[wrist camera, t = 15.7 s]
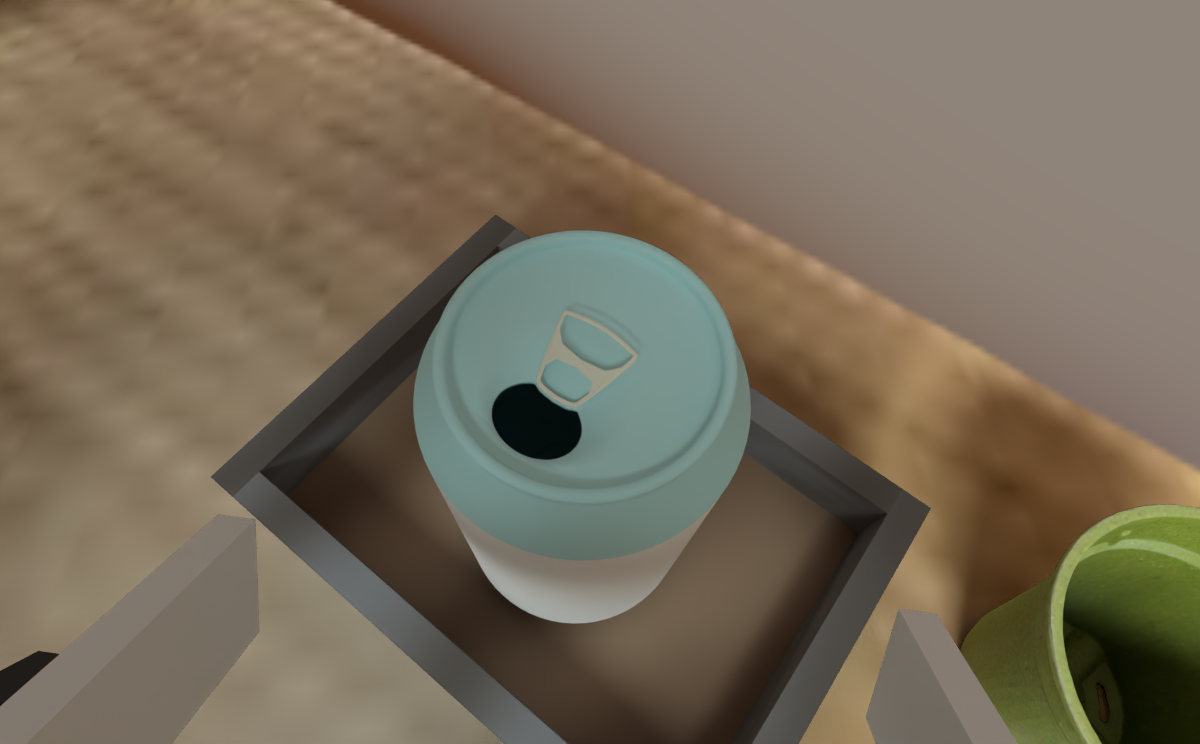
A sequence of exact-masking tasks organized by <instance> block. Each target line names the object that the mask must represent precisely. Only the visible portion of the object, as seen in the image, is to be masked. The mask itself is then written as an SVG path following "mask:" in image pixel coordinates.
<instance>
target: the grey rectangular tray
mask: <svg viewBox="0 0 1200 744" xmlns="http://www.w3.org/2000/svg"><path fill="white" fill-rule="evenodd" d="M527 239H530V238H529V237H528V236H526V235H525V234H523V233H522V232H521V231H519V230H518V229H516V228H515V227H513V226H512V225H510V224H509V223H507V222H506V221H504V220H503V219H501V218H500V217H498V216H497V215H495V216H493V217H492V218H491V219H490V220H489V221H488V222H487V223H486V224H485V225H484V226H483V227H482V228H480V229H479V230H478V231H477V232H476V233H475V234H474V235H473V236H472V237H471V238H470V239H469V240H467V241H466V242H465V243H464V244H463V245H462V246H461V247H460V248H459V249H458V250H457V251H455V252H454V253H453V254H452V255H451V256H450V257H449V258H448V259H447V260H446V261H445V262H444V263H442V264H441V265H440V266H439V267H438V268H437V269H436V270H435V271H434V272H433V273H432V274H431V275H429V276H428V277H427V278H426V279H425V280H424V281H423V282H422V283H421V284H420V285H419V286H418V287H416V288H415V289H414V290H413V291H412V292H411V293H410V294H409V295H408V296H407V297H406V298H404V299H403V300H402V301H401V302H400V303H399V304H398V305H397V306H396V307H395V308H394V309H393V310H391V311H390V312H389V313H388V314H387V315H386V316H385V317H384V318H383V319H382V320H381V321H380V322H378V323H377V324H376V325H375V326H374V327H373V328H372V329H371V330H370V331H369V332H368V333H367V334H365V335H364V336H363V337H362V338H361V339H360V340H359V341H358V342H357V343H356V344H355V345H353V346H352V347H351V348H350V349H349V350H348V351H347V352H346V353H345V354H344V355H343V356H342V357H340V358H339V359H338V360H337V361H336V362H335V363H334V364H333V365H332V366H331V367H330V368H329V369H327V370H326V371H325V372H324V373H323V374H322V375H321V376H320V377H319V378H318V379H317V380H316V381H314V382H313V383H312V384H311V385H310V386H309V387H308V388H307V389H306V390H305V391H304V392H302V393H301V394H300V395H299V396H298V397H297V398H296V399H295V400H294V401H293V402H292V403H291V404H289V405H288V406H287V407H286V408H285V409H284V410H283V411H282V412H281V413H280V414H279V415H278V416H276V417H275V418H274V419H273V420H272V421H271V422H270V423H269V424H268V425H267V426H266V427H264V428H263V429H262V430H261V431H260V432H259V433H258V434H257V435H256V436H255V437H254V438H253V439H251V440H250V441H249V442H248V443H247V444H246V445H245V446H244V447H243V448H242V449H241V450H240V451H238V452H237V453H236V454H235V455H234V456H233V457H232V458H231V459H230V460H229V461H228V462H227V463H225V464H224V465H223V466H222V467H221V468H220V469H219V470H218V471H217V472H216V473H215V474H213V475H212V476H211V478H213V479H214V480H215V481H216V482H217V483H218V484H219V485H220V486H221V487H222V488H224V489H225V490H226V491H227V492H228V493H229V494H230V495H231V496H232V497H234V498H235V499H236V500H237V501H238V502H239V503H240V504H241V505H242V506H243V507H245V508H246V509H247V510H248V511H249V512H250V513H251V514H252V515H253V516H254V517H256V518H257V519H258V520H259V521H260V522H261V523H262V524H263V525H264V526H265V527H267V528H268V529H269V530H270V531H271V532H272V533H273V534H274V535H275V536H277V537H278V538H279V539H280V540H281V541H282V542H283V543H284V544H285V545H286V546H288V547H289V548H290V549H291V550H292V551H293V552H294V553H295V554H296V555H297V556H299V557H300V558H301V559H302V560H303V561H304V562H305V563H306V564H307V565H308V566H310V567H311V568H312V569H313V570H314V571H315V572H316V573H317V574H318V575H320V576H321V577H322V578H323V579H324V580H325V581H326V582H327V583H328V584H329V585H331V586H332V587H333V588H334V589H335V590H336V591H337V592H338V593H339V594H340V595H342V596H343V597H344V598H345V599H346V600H347V601H348V602H349V603H350V604H351V605H353V606H354V607H355V608H356V609H357V610H358V611H359V612H360V613H361V614H363V615H364V616H365V617H366V618H367V619H368V620H369V621H370V622H371V623H372V624H374V625H375V626H376V627H377V628H378V629H379V630H380V631H381V632H382V633H383V634H385V635H386V636H387V637H388V638H389V639H390V640H391V641H392V642H393V643H394V644H396V645H397V646H398V647H399V648H400V649H401V650H402V651H403V652H404V653H406V654H407V655H408V656H409V657H410V658H411V659H412V660H413V661H414V662H415V663H417V664H418V665H419V666H420V667H421V668H422V669H423V670H424V671H425V672H426V673H428V674H429V675H430V676H431V677H432V678H433V679H434V680H435V681H436V682H437V683H439V684H440V685H441V686H442V687H443V688H444V689H445V690H446V691H447V692H449V693H450V694H451V695H452V696H453V697H454V698H455V699H456V700H457V701H458V702H460V703H461V704H462V705H463V706H464V707H465V708H466V709H467V710H468V711H469V712H471V713H472V714H473V715H474V716H475V717H476V718H477V719H478V720H479V721H481V722H482V723H483V724H484V725H485V726H486V727H487V728H488V729H489V730H490V731H492V732H493V733H494V734H495V735H496V736H497V737H498V738H499V739H500V740H501V741H503V742H504V743H505V744H799V742H800V740H801V738H802V737H803V735H804V733H805V731H806V730H807V728H808V726H809V724H810V722H811V721H812V719H813V717H814V715H815V714H816V712H817V710H818V708H819V706H820V705H821V703H822V701H823V699H824V698H825V696H826V694H827V692H828V690H829V689H830V687H831V685H832V683H833V682H834V680H835V678H836V676H837V674H838V673H839V671H840V669H841V667H842V666H843V664H844V662H845V660H846V658H847V657H848V655H849V653H850V651H851V649H852V648H853V646H854V644H855V642H856V641H857V639H858V637H859V635H860V633H861V632H862V630H863V628H864V626H865V625H866V623H867V621H868V619H869V617H870V616H871V614H872V612H873V610H874V609H875V607H876V605H877V603H878V601H879V600H880V598H881V596H882V594H883V593H884V591H885V589H886V587H887V585H888V584H889V582H890V580H891V578H892V577H893V575H894V573H895V571H896V569H897V568H898V566H899V564H900V562H901V561H902V559H903V557H904V555H905V553H906V552H907V550H908V548H909V546H910V545H911V543H912V541H913V539H914V537H915V536H916V534H917V532H918V530H919V529H920V527H921V525H922V523H923V521H924V520H925V518H926V516H927V514H928V513H929V511H930V509H931V508H930V507H928V506H927V505H925V504H924V503H922V502H921V501H919V500H918V499H916V498H915V497H913V496H912V495H910V494H909V493H907V492H906V491H904V490H903V489H902V488H900V487H899V486H897V485H896V484H894V483H893V482H891V481H890V480H888V479H887V478H885V477H884V476H882V475H881V474H879V473H878V472H876V471H875V470H873V469H872V468H870V467H869V466H867V465H866V464H864V463H863V462H861V461H860V460H859V459H857V458H856V457H854V456H853V455H851V454H850V453H848V452H847V451H845V450H844V449H842V448H841V447H839V446H838V445H836V444H835V443H833V442H832V441H830V440H829V439H827V438H826V437H824V436H823V435H821V434H820V433H818V432H817V431H816V430H814V429H813V428H811V427H810V426H808V425H807V424H805V423H804V422H802V421H801V420H799V419H798V418H796V417H795V416H793V415H792V414H790V413H789V412H787V411H786V410H784V409H783V408H781V407H780V406H778V405H777V404H776V403H774V402H773V401H771V400H770V399H768V398H767V397H765V396H764V395H762V394H761V393H759V392H758V391H756V390H755V389H753V388H752V387H750V386H749V389H750V399H751V416H750V427H749V433H748V438H747V443H746V446H745V449H744V453H743V456H742V458H741V461H740V463H739V465H738V468H737V470H736V472H735V474H734V476H733V477H732V479H731V481H730V483H729V485H728V486H727V487H726V489H725V490H724V492H723V493H722V495H721V496H720V497H719V499H718V500H717V502H716V503H715V505H714V506H713V508H712V509H711V510H710V512H709V513H708V515H707V516H706V518H705V519H704V520H703V522H702V523H701V525H700V526H699V528H698V529H697V531H696V532H695V533H694V535H693V536H692V538H691V539H690V541H689V542H688V543H687V545H686V546H685V548H684V549H683V551H682V552H681V554H680V555H679V556H678V558H677V559H676V561H675V562H674V564H673V565H672V566H671V568H670V569H669V571H668V572H667V574H666V575H665V576H664V578H663V579H662V581H661V582H660V583H659V585H658V586H657V587H656V588H655V589H654V590H653V591H652V592H651V593H650V594H649V595H648V596H647V597H646V598H645V599H643V600H642V601H641V602H639V603H638V604H637V605H635V606H634V607H632V608H630V609H629V610H627V611H625V612H623V613H621V614H619V615H616V616H614V617H611V618H608V619H605V620H600V621H596V622H589V623H574V624H573V623H561V622H555V621H550V620H547V619H543V618H540V617H537V616H535V615H532V614H530V613H528V612H526V611H524V610H522V609H520V608H519V607H517V606H516V605H514V604H513V603H511V602H510V601H509V600H508V599H507V598H505V597H504V596H503V595H502V594H501V593H500V592H499V591H498V590H497V589H496V588H495V587H494V586H493V584H492V583H491V582H490V581H489V579H488V578H487V576H486V575H485V573H484V572H483V570H482V568H481V566H480V564H479V563H478V561H477V559H476V557H475V555H474V553H473V551H472V550H471V548H470V546H469V544H468V542H467V540H466V538H465V536H464V535H463V533H462V531H461V529H460V527H459V525H458V523H457V521H456V520H455V518H454V516H453V514H452V512H451V510H450V508H449V507H448V505H447V503H446V501H445V499H444V497H443V495H442V493H441V492H440V490H439V488H438V486H437V484H436V482H435V480H434V479H433V477H432V475H431V473H430V471H429V469H428V467H427V465H426V463H425V460H424V458H423V455H422V452H421V449H420V446H419V443H418V438H417V434H416V430H415V422H414V410H413V398H414V387H415V381H416V376H417V371H418V367H419V363H420V360H421V357H422V354H423V351H424V349H425V346H426V344H427V342H428V339H429V337H430V336H431V334H432V332H433V330H434V329H435V327H436V325H437V324H438V322H439V321H440V318H441V316H442V314H443V311H444V309H445V308H446V306H447V304H448V302H449V300H450V299H451V297H452V296H453V294H454V293H455V292H456V290H457V289H458V287H459V286H460V285H461V284H462V283H463V282H464V280H465V279H466V278H467V277H468V276H469V275H470V274H471V273H472V272H473V271H474V270H475V269H476V268H478V267H479V266H480V265H481V264H483V263H484V262H485V261H487V260H488V259H489V258H491V257H492V256H494V255H496V254H497V253H499V252H501V251H502V250H504V249H506V248H508V247H510V246H512V245H514V244H517V243H519V242H521V241H524V240H527Z"/></svg>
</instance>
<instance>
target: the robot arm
mask: <svg viewBox="0 0 1200 744" xmlns="http://www.w3.org/2000/svg"><path fill="white" fill-rule="evenodd" d="M258 633H259V606H258V579H257V551H256V524H255V519H248V518H241V517H234V516H226V515H219V514H218V515H217V516H216V517H215V518H214V519H213V520H211V521H210V522H209V523H208V524H207V525H206V526H205V527H203V528H202V529H201V530H200V531H199V532H198V533H197V534H195V535H194V536H193V537H192V538H191V539H190V540H189V541H188V542H186V543H185V544H184V545H183V546H182V547H181V548H180V549H178V550H177V551H176V552H175V553H174V554H173V555H172V556H170V557H169V558H168V559H167V560H166V561H165V562H164V563H163V564H161V565H160V566H159V567H158V568H157V569H156V570H155V571H153V572H152V573H151V574H150V575H149V576H148V577H147V578H145V579H144V580H143V581H142V582H141V583H140V584H139V585H138V586H136V587H135V588H134V589H133V590H132V591H131V592H130V593H128V594H127V595H126V596H125V597H124V598H123V599H122V600H120V601H119V602H118V603H117V604H116V605H115V606H114V607H113V608H111V609H110V610H109V611H108V612H107V613H106V614H105V615H103V616H102V617H101V618H100V619H99V620H98V621H97V622H95V623H94V624H93V625H92V626H91V627H90V628H89V629H88V630H86V631H85V632H84V633H83V634H82V635H81V636H80V637H78V638H77V639H76V640H75V641H74V642H73V643H72V644H70V645H69V646H68V647H67V648H66V649H65V650H64V651H63V652H61V653H60V654H56V653H49V652H42V651H38V652H36V653H34V654H32V655H30V656H28V657H26V658H24V659H22V660H20V661H18V662H17V663H15V664H13V665H11V666H9V667H7V668H5V669H3V670H1V671H0V744H172V743H173V741H174V740H175V739H176V738H177V736H178V735H179V734H180V732H181V731H182V730H183V729H184V727H185V726H186V725H187V723H188V722H189V721H190V720H191V718H192V717H193V716H194V714H195V713H196V712H197V711H198V709H199V708H200V707H201V706H202V704H203V703H204V702H205V700H206V699H207V698H208V697H209V695H210V694H211V693H212V691H213V690H214V689H215V688H216V686H217V685H218V684H219V682H220V681H221V680H222V679H223V677H224V676H225V675H226V674H227V672H228V671H229V670H230V668H231V667H232V666H233V665H234V663H235V662H236V661H237V659H238V658H239V657H240V656H241V654H242V653H243V652H244V651H245V649H246V648H247V647H248V645H249V644H250V643H251V642H252V640H253V639H254V638H255V636H256V635H257V634H258ZM866 719H867V722H868V724H869V727H870V729H871V732H872V734H873V737H874V740H875V742H876V744H1017V742H1016V740H1015V739H1014V737H1013V735H1012V734H1011V732H1010V731H1009V729H1008V727H1007V726H1006V724H1005V723H1004V721H1003V719H1002V718H1001V716H1000V715H999V713H998V711H997V710H996V708H995V707H994V705H993V703H992V702H991V700H990V699H989V697H988V695H987V694H986V692H985V691H984V689H983V687H982V686H981V684H980V683H979V681H978V679H977V678H976V676H975V675H974V673H973V671H972V670H971V668H970V666H969V665H968V663H967V662H966V660H965V658H964V657H963V655H962V654H961V652H960V650H959V649H958V647H957V646H956V644H955V642H954V641H953V639H952V638H951V636H950V634H949V633H948V631H947V630H946V628H945V626H944V625H943V623H942V622H941V620H940V618H939V617H938V615H937V614H932V613H925V612H918V611H910V610H903V609H899V610H898V613H897V616H896V620H895V623H894V626H893V629H892V633H891V636H890V639H889V643H888V646H887V649H886V652H885V656H884V659H883V662H882V666H881V669H880V672H879V675H878V679H877V682H876V685H875V688H874V692H873V695H872V698H871V702H870V705H869V708H868V711H867V715H866Z"/></svg>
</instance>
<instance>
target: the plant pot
mask: <svg viewBox="0 0 1200 744" xmlns="http://www.w3.org/2000/svg"><path fill="white" fill-rule="evenodd" d="M960 652H961V654H962V655H963V657H964V658H965V660H966V662H967V663H968V665H969V666H970V668H971V670H972V671H973V673H974V675H975V676H976V678H977V679H978V681H979V683H980V684H981V686H982V687H983V689H984V691H985V692H986V694H987V695H988V697H989V699H990V700H991V702H992V703H993V705H994V707H995V708H996V710H997V711H998V713H999V715H1000V716H1001V718H1002V719H1003V721H1004V723H1005V724H1006V726H1007V727H1008V729H1009V731H1010V732H1011V734H1012V735H1013V737H1014V739H1015V740H1016V742H1017V744H1200V508H1196V507H1190V506H1181V505H1167V504H1161V505H1146V506H1140V507H1136V508H1131V509H1127V510H1124V511H1121V512H1118V513H1115V514H1113V515H1110V516H1108V517H1106V518H1104V519H1102V520H1100V521H1098V522H1096V523H1095V524H1093V525H1092V526H1090V527H1089V528H1088V529H1086V530H1085V531H1084V532H1083V533H1081V534H1080V535H1079V536H1078V537H1077V538H1076V539H1075V540H1074V541H1073V542H1072V543H1071V545H1070V546H1069V547H1068V549H1067V550H1066V552H1065V553H1064V555H1063V556H1062V558H1061V559H1060V561H1059V563H1058V565H1057V567H1056V569H1055V571H1054V574H1053V575H1052V576H1050V577H1048V578H1047V579H1045V580H1043V581H1042V582H1040V583H1038V584H1037V585H1035V586H1034V587H1032V588H1030V589H1029V590H1027V591H1025V592H1024V593H1022V594H1020V595H1019V596H1017V597H1015V598H1013V599H1012V600H1010V601H1008V602H1006V603H1004V604H1003V605H1001V606H999V607H998V608H996V609H994V610H992V611H990V612H989V613H987V614H986V615H985V616H983V617H982V618H981V619H980V620H979V621H978V622H977V623H976V624H975V626H974V627H973V628H972V629H971V630H970V632H969V633H968V634H967V635H966V637H965V640H964V642H963V644H962V647H961V651H960ZM1098 682H1099V684H1100V685H1102V686H1103V687H1104V688H1105V692H1106V696H1107V702H1108V705H1109V709H1110V712H1109V721H1108V722H1106V723H1104V722H1103V721H1102V720H1101V719H1100V710H1099V700H1098V691H1097V688H1096V686H1095V685H1096V684H1097V683H1098Z"/></svg>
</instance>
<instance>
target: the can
mask: <svg viewBox="0 0 1200 744" xmlns="http://www.w3.org/2000/svg"><path fill="white" fill-rule="evenodd" d="M413 410H414V422H415V430H416V434H417V438H418V443H419V446H420V449H421V452H422V455H423V458H424V460H425V463H426V465H427V467H428V469H429V471H430V473H431V475H432V477H433V479H434V480H435V482H436V484H437V486H438V488H439V490H440V492H441V493H442V495H443V497H444V499H445V501H446V503H447V505H448V507H449V508H450V510H451V512H452V514H453V516H454V518H455V520H456V521H457V523H458V525H459V527H460V529H461V531H462V533H463V535H464V536H465V538H466V540H467V542H468V544H469V546H470V548H471V550H472V551H473V553H474V555H475V557H476V559H477V561H478V563H479V564H480V566H481V568H482V570H483V572H484V573H485V575H486V576H487V578H488V579H489V581H490V582H491V583H492V584H493V586H494V587H495V588H496V589H497V590H498V591H499V592H500V593H501V594H502V595H503V596H504V597H505V598H507V599H508V600H509V601H510V602H511V603H513V604H514V605H516V606H517V607H519V608H520V609H522V610H524V611H526V612H528V613H530V614H532V615H535V616H537V617H540V618H543V619H547V620H550V621H555V622H561V623H573V624H574V623H589V622H596V621H600V620H605V619H608V618H611V617H614V616H616V615H619V614H621V613H623V612H625V611H627V610H629V609H630V608H632V607H634V606H635V605H637V604H638V603H639V602H641V601H642V600H643V599H645V598H646V597H647V596H648V595H649V594H650V593H651V592H652V591H653V590H654V589H655V588H656V587H657V586H658V585H659V583H660V582H661V581H662V579H663V578H664V576H665V575H666V574H667V572H668V571H669V569H670V568H671V566H672V565H673V564H674V562H675V561H676V559H677V558H678V556H679V555H680V554H681V552H682V551H683V549H684V548H685V546H686V545H687V543H688V542H689V541H690V539H691V538H692V536H693V535H694V533H695V532H696V531H697V529H698V528H699V526H700V525H701V523H702V522H703V520H704V519H705V518H706V516H707V515H708V513H709V512H710V510H711V509H712V508H713V506H714V505H715V503H716V502H717V500H718V499H719V497H720V496H721V495H722V493H723V492H724V490H725V489H726V487H727V486H728V485H729V483H730V481H731V479H732V477H733V476H734V474H735V472H736V470H737V468H738V465H739V463H740V461H741V458H742V456H743V453H744V449H745V446H746V443H747V438H748V433H749V427H750V416H751V399H750V389H749V382H748V376H747V372H746V368H745V364H744V361H743V358H742V355H741V353H740V350H739V348H738V346H737V344H736V341H735V339H734V336H733V332H732V329H731V327H730V324H729V321H728V319H727V317H726V315H725V313H724V310H723V308H722V307H721V305H720V304H719V302H718V300H717V299H716V297H715V296H714V294H713V293H712V292H711V290H710V289H709V288H708V286H707V285H706V284H705V283H704V282H703V281H702V280H701V279H700V278H699V277H698V276H697V275H696V274H695V273H694V272H693V271H692V270H691V269H690V268H688V267H687V266H686V265H685V264H683V263H682V262H681V261H679V260H678V259H676V258H675V257H673V256H672V255H670V254H669V253H667V252H665V251H663V250H661V249H659V248H657V247H655V246H653V245H651V244H648V243H646V242H644V241H641V240H638V239H635V238H632V237H629V236H625V235H620V234H616V233H610V232H604V231H592V230H573V231H561V232H555V233H549V234H545V235H541V236H536V237H533V238H530V239H527V240H524V241H521V242H519V243H517V244H514V245H512V246H510V247H508V248H506V249H504V250H502V251H501V252H499V253H497V254H496V255H494V256H492V257H491V258H489V259H488V260H487V261H485V262H484V263H483V264H481V265H480V266H479V267H478V268H476V269H475V270H474V271H473V272H472V273H471V274H470V275H469V276H468V277H467V278H466V279H465V280H464V282H463V283H462V284H461V285H460V286H459V287H458V289H457V290H456V292H455V293H454V294H453V296H452V297H451V299H450V300H449V302H448V304H447V306H446V308H445V309H444V311H443V314H442V316H441V318H440V321H439V322H438V324H437V325H436V327H435V329H434V330H433V332H432V334H431V336H430V337H429V339H428V342H427V344H426V346H425V349H424V351H423V354H422V357H421V360H420V363H419V367H418V371H417V376H416V381H415V387H414V398H413Z"/></svg>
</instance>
